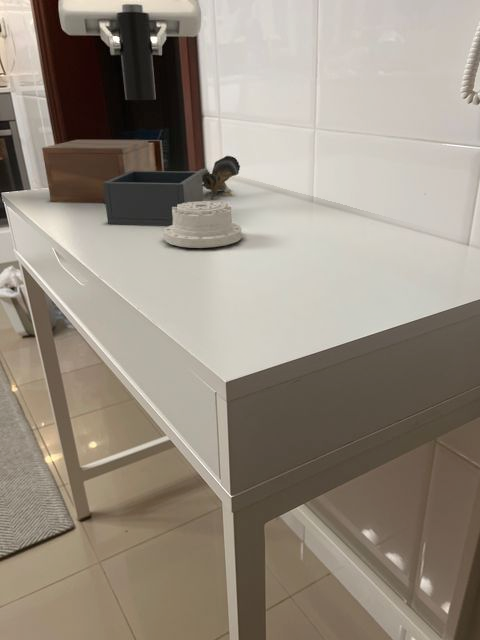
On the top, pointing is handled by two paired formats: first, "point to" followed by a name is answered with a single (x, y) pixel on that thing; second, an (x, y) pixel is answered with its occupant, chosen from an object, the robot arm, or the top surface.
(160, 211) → the bin
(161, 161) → the drawer
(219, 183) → the toy chipmunk
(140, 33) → the spray can
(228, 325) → the top surface
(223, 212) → the mechanical component
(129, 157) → the cabinet
